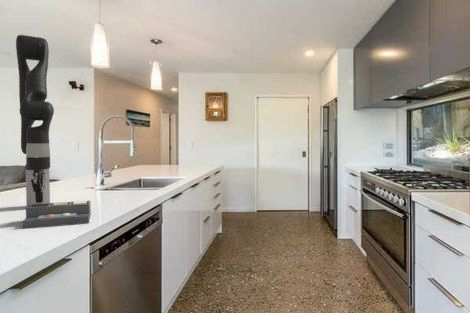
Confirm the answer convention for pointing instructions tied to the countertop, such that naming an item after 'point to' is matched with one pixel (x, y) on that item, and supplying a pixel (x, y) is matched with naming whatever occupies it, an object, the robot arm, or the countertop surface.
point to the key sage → (60, 204)
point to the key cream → (80, 202)
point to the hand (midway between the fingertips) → (39, 202)
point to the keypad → (56, 214)
